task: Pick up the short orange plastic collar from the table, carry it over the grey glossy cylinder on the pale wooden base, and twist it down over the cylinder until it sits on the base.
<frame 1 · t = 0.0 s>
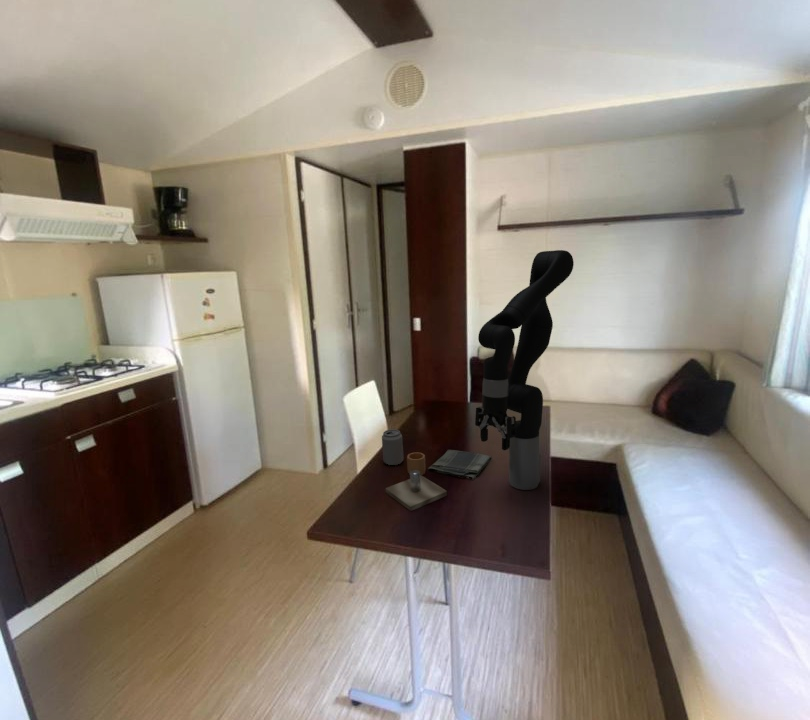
hand: (494, 445, 128), 17 cm above the table, tool pointing down, fingers open, 8 cm apart
can: (393, 462, 160), on the table
dish towel: (460, 467, 154), on the table
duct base: (415, 493, 136), on the table
grey glossy cylinder: (415, 481, 135), on the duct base, point 4 cm above the table
collar: (416, 471, 151), on the table
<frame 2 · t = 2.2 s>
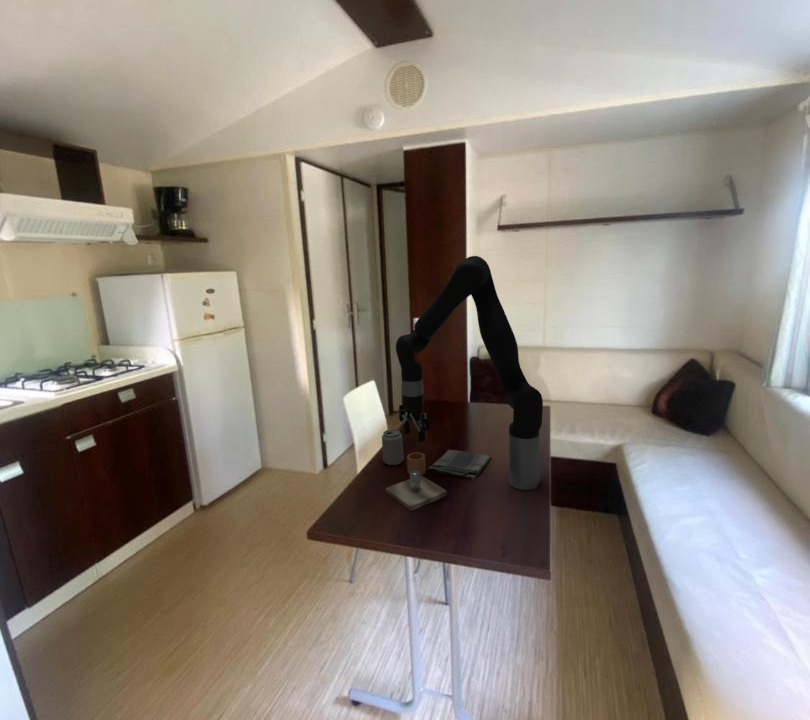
hand: (414, 437, 148), 13 cm above the table, tool pointing down, fingers open, 8 cm apart
nothing on the table moved.
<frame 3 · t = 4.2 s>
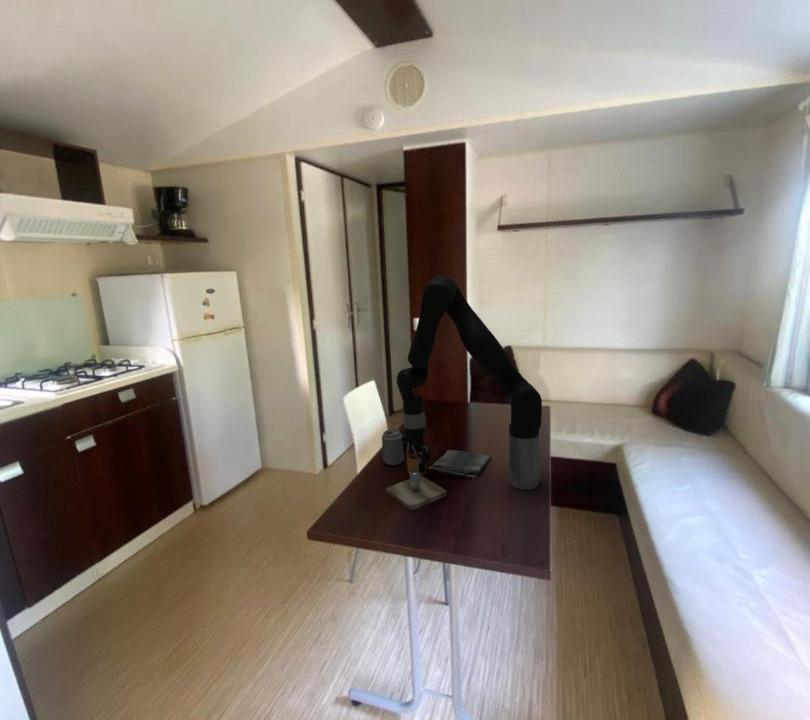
hand: (416, 469, 151), 1 cm above the table, tool pointing down, fingers closed on collar, 6 cm apart
collar: (416, 471, 151), on the table, touching gripper
everything else where it was.
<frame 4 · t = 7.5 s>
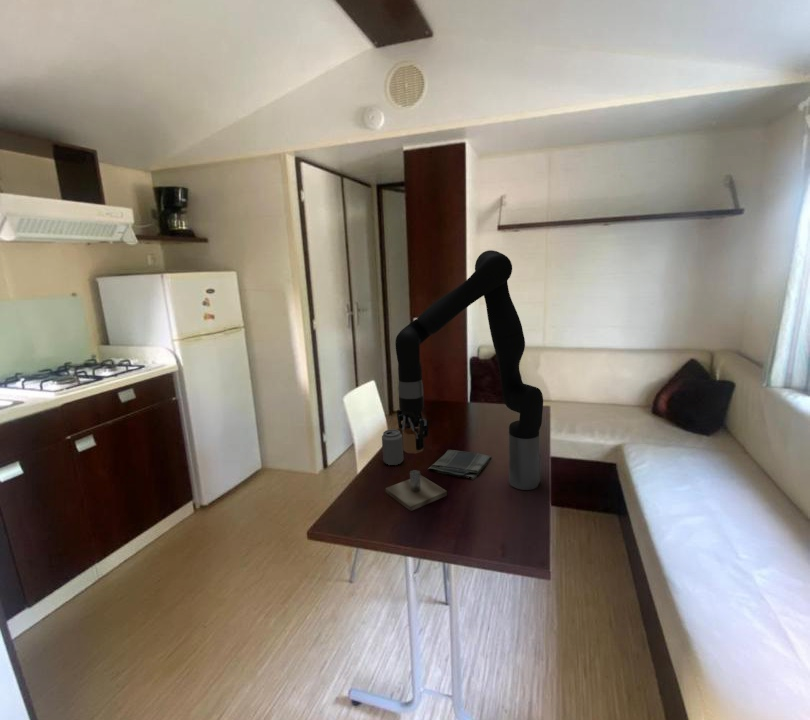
hand: (413, 445, 133), 16 cm above the table, tool pointing down, fingers closed on collar, 6 cm apart
collar: (413, 449, 133), point 15 cm above the table, touching gripper
everything else where it was.
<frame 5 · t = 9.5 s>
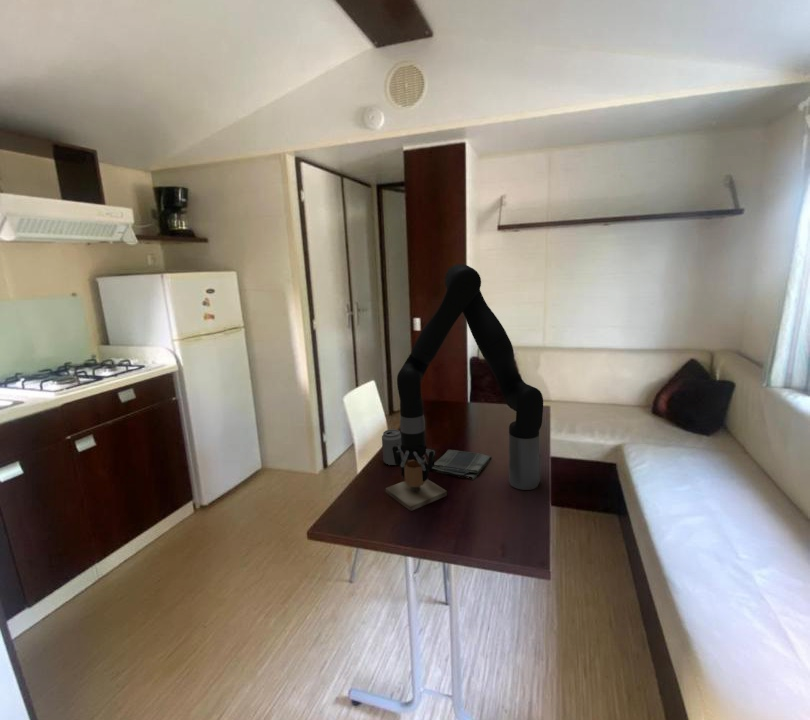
hand: (415, 478, 135), 6 cm above the table, tool pointing down, fingers closed on collar, 6 cm apart
collar: (415, 481, 135), point 5 cm above the table, touching gripper
everything else where it was.
when the fingers open (4 cm above the table, at t = 11.1 s): collar stays where it is, resting on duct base.
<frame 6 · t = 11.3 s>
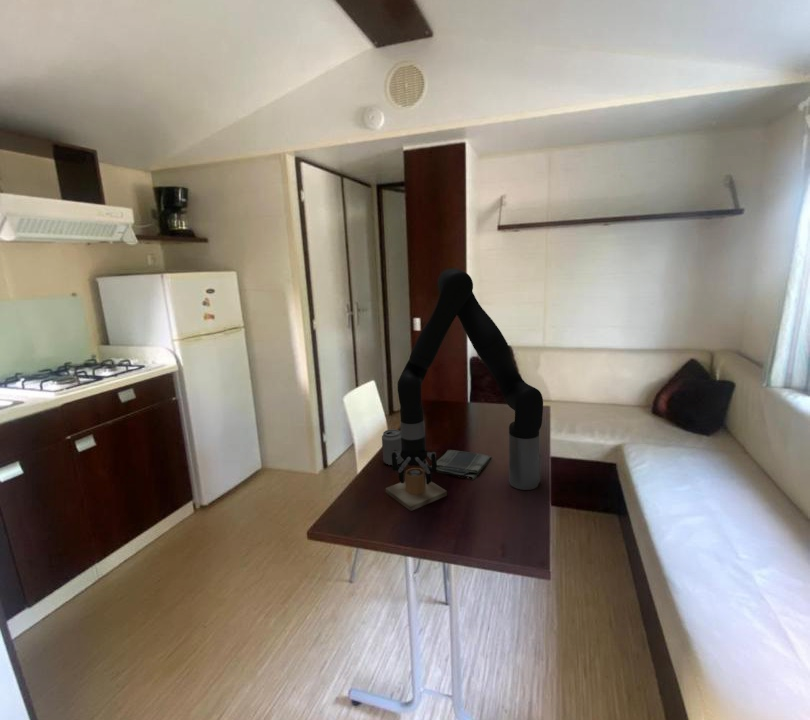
hand: (415, 482, 135), 4 cm above the table, tool pointing down, fingers open, 7 cm apart
collar: (415, 489, 136), point 1 cm above the table, touching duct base
everything else where it was.
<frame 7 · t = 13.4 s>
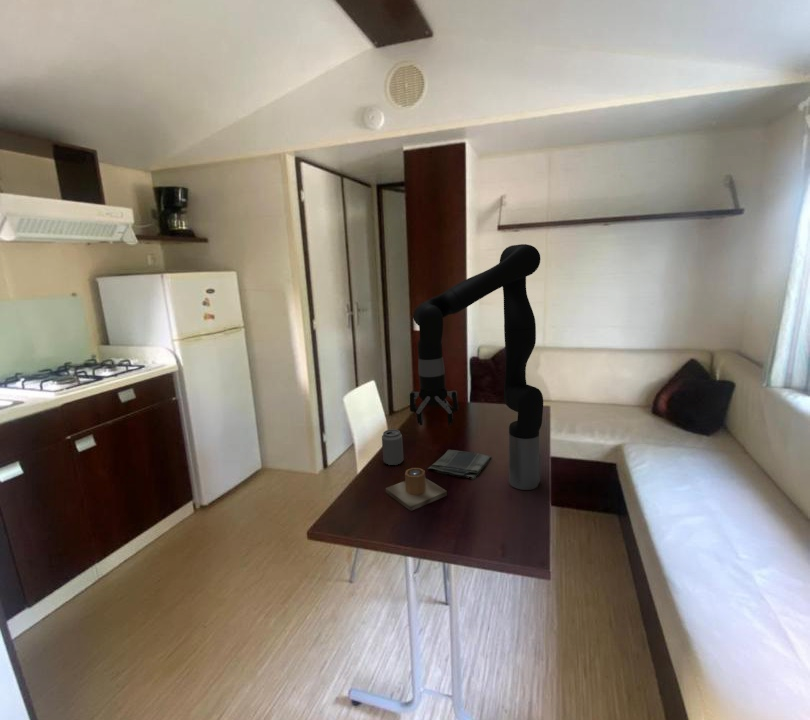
hand: (435, 424, 129), 24 cm above the table, tool pointing down, fingers open, 8 cm apart
nothing on the table moved.
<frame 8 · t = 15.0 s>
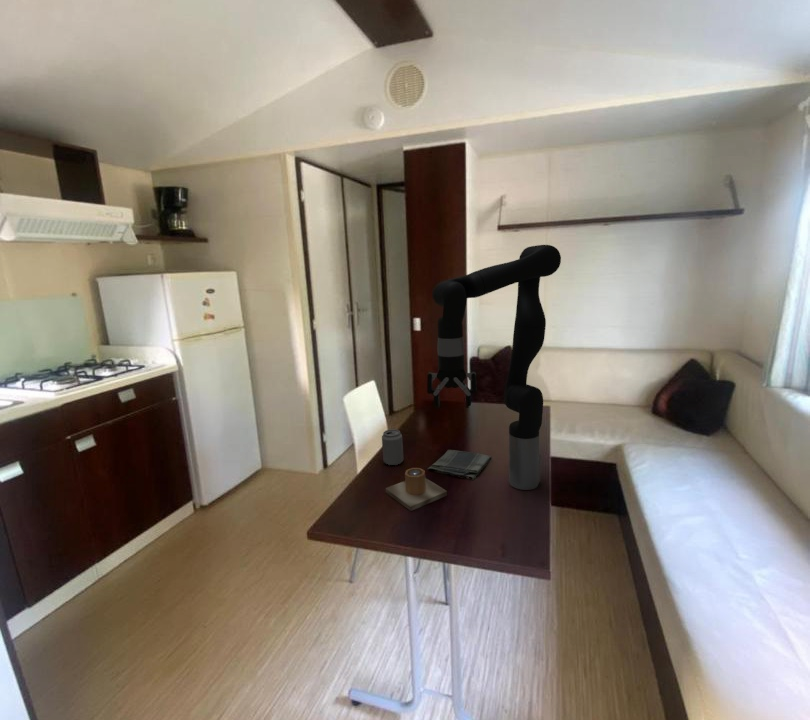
hand: (452, 407, 125), 30 cm above the table, tool pointing down, fingers open, 8 cm apart
nothing on the table moved.
at the end: collar 0.1 cm off-centre on the grey glossy cylinder, point 1.5 cm above the grey glossy cylinder's base; collar tilted 0°; the gripper is holding nothing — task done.
